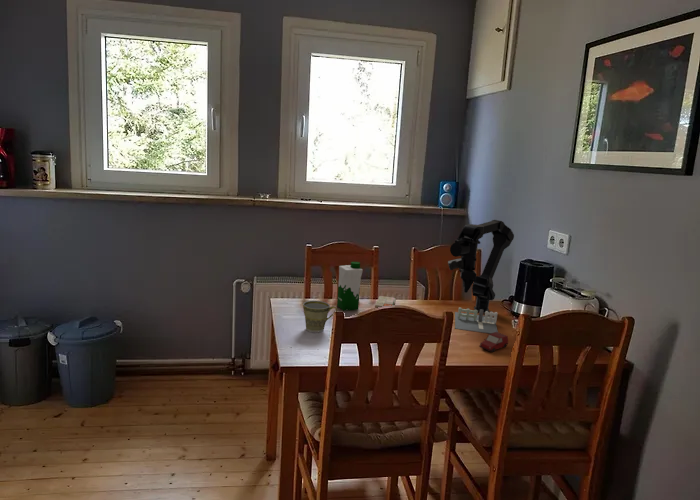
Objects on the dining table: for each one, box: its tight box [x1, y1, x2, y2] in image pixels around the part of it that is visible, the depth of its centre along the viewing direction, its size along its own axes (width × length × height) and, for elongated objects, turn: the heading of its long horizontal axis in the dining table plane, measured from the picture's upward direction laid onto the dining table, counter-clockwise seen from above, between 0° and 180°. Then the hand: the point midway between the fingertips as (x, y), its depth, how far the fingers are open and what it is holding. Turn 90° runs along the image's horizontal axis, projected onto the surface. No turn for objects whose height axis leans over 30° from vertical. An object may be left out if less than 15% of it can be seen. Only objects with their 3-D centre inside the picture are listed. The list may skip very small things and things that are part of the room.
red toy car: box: [478, 331, 509, 353], centre depth 195 cm, size 6×12×5 cm, turn 132°
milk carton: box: [336, 261, 364, 311], centre depth 226 cm, size 9×9×20 cm
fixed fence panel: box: [478, 309, 498, 324], centre depth 222 cm, size 7×2×5 cm, turn 79°
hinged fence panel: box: [457, 307, 479, 320], centre depth 223 cm, size 8×1×4 cm, turn 79°
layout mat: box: [454, 311, 499, 334], centre depth 221 cm, size 22×17×1 cm
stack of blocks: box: [374, 295, 397, 309], centre depth 206 cm, size 21×6×12 cm, turn 170°
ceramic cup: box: [302, 300, 338, 334], centre depth 198 cm, size 13×10×10 cm
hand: (465, 289), depth 227 cm, fingers open, 9 cm apart
